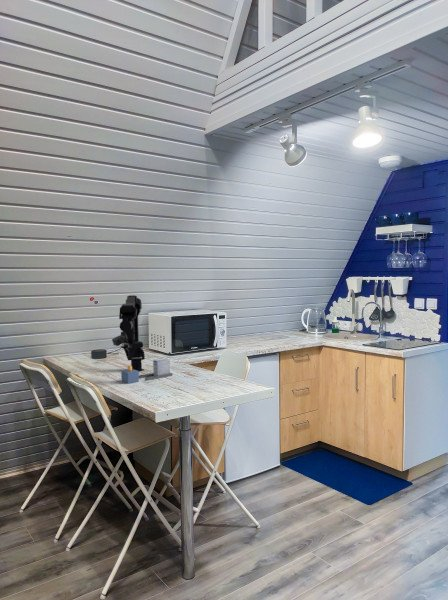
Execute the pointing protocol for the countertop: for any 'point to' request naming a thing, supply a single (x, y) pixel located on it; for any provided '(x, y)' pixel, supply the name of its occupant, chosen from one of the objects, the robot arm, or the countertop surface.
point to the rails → (154, 376)
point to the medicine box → (161, 366)
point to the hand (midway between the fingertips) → (129, 360)
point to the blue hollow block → (130, 376)
